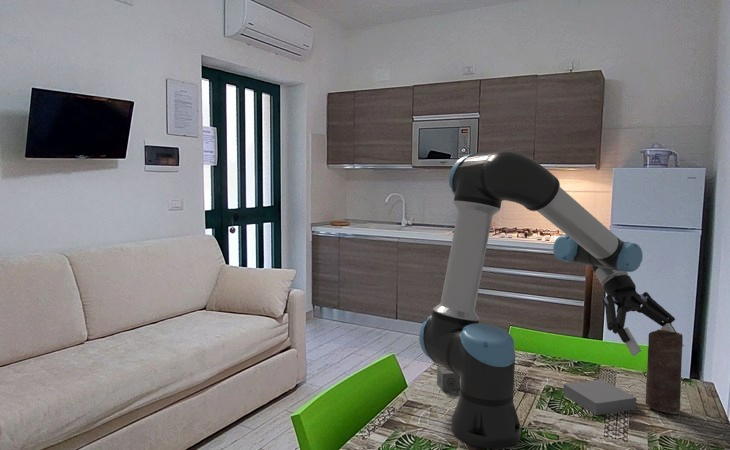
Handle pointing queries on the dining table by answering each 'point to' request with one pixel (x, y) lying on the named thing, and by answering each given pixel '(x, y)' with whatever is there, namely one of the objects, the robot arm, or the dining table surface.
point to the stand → (599, 397)
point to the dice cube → (447, 379)
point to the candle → (664, 371)
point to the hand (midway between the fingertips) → (658, 351)
